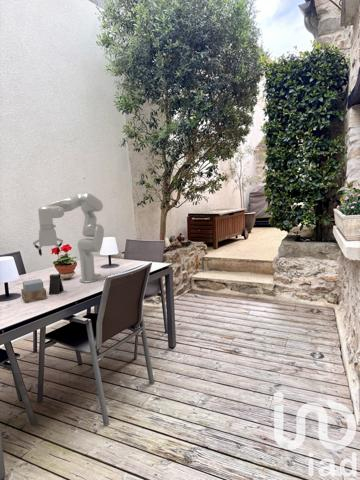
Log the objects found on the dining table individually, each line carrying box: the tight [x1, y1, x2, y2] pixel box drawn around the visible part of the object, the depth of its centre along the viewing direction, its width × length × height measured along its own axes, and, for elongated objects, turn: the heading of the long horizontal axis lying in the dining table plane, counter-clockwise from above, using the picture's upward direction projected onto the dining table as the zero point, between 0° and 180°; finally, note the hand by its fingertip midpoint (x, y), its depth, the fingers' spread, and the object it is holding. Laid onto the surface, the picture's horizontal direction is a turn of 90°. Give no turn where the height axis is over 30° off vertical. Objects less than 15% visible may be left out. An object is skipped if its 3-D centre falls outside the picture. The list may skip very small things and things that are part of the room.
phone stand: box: [48, 273, 65, 295], centre depth 196 cm, size 9×6×12 cm, turn 178°
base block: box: [20, 287, 48, 304], centre depth 185 cm, size 12×12×6 cm
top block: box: [22, 278, 45, 293], centre depth 184 cm, size 10×10×5 cm
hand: (49, 254), depth 186 cm, fingers open, 9 cm apart
